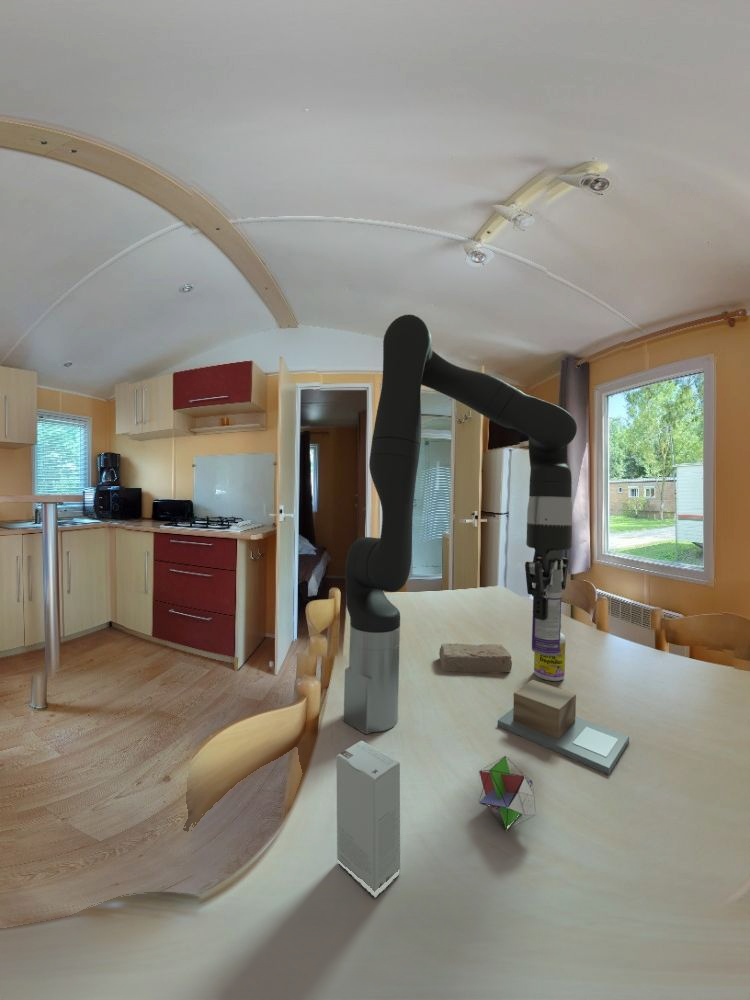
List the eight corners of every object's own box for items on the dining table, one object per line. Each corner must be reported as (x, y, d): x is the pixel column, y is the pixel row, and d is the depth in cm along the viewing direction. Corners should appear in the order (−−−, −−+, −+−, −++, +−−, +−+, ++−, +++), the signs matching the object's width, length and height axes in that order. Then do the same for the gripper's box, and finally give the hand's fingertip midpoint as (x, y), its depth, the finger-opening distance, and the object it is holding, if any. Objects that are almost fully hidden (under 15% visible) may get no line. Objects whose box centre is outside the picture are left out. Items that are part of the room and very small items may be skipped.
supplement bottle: (534, 679, 93) (535, 623, 93) (533, 668, 99) (534, 616, 99) (566, 684, 90) (567, 627, 91) (562, 672, 97) (564, 619, 97)
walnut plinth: (558, 739, 67) (559, 709, 67) (513, 720, 73) (513, 692, 73) (575, 721, 73) (575, 694, 73) (531, 705, 78) (532, 679, 78)
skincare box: (401, 874, 43) (404, 760, 43) (373, 904, 40) (376, 781, 40) (361, 840, 47) (363, 736, 47) (332, 864, 44) (335, 753, 44)
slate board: (608, 774, 60) (609, 767, 60) (497, 725, 73) (497, 719, 73) (628, 742, 68) (629, 735, 68) (526, 703, 81) (526, 697, 81)
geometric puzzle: (455, 790, 53) (489, 759, 49) (482, 767, 58) (515, 737, 54) (494, 851, 49) (535, 822, 45) (520, 821, 53) (558, 792, 50)
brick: (442, 672, 96) (443, 652, 96) (438, 658, 104) (439, 640, 104) (512, 675, 95) (513, 655, 95) (502, 661, 104) (503, 643, 104)
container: (536, 644, 76) (538, 565, 76) (562, 651, 73) (565, 568, 73) (527, 651, 72) (530, 568, 72) (555, 658, 69) (557, 571, 69)
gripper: (554, 523, 65) (551, 629, 65) (584, 523, 75) (582, 614, 75) (511, 521, 70) (508, 618, 70) (544, 521, 80) (542, 606, 80)
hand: (546, 615), depth 72 cm, fingers closed on container, 4 cm apart
